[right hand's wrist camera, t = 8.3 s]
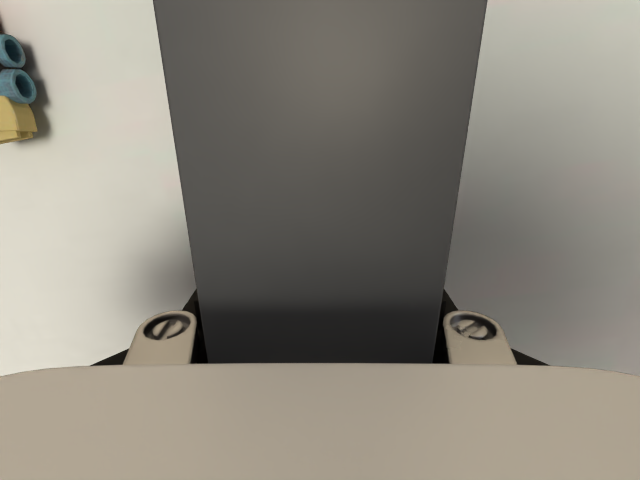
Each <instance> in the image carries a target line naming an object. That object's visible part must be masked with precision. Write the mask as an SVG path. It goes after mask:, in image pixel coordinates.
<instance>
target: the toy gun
mask: <svg viewBox="0 0 640 480" xmlns="http://www.w3.org/2000/svg"><path fill="white" fill-rule="evenodd" d="M25 60H26V58H25V54H24V51H23V49H22V47H21V45H20V44H19V42H18V41H17V40H16V39H15V38H14V37H13V36H11V35H7V34H4V33H1V32H0V144H3V143H9V142H14V141H19V140H24V139H30V138H33V134H32V132H37V127H36V123H35V118H34V115H33V113H32V110H31V108H30V107H29V105H28V104H30V103H31V102H33V101H35V98H36V95H37V93H36V88H35V85H34V82H33V80H32V79H31V78H30V77H29V75H28V74H27V73H26V72H24V71H22V70H21V69H16V68H22V67H23V66H24V64H25Z"/></svg>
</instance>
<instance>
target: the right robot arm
mask: <svg viewBox="0 0 640 480" xmlns="http://www.w3.org/2000/svg"><path fill="white" fill-rule="evenodd" d="M0 480H640V376H636V375H630V374H625V373H620V372H614V371H607V370H599V369H591V368H579V367H563V366H550V365H547V364H545V363H543V362H541V361H538V360H536V359H534V358H532V357H529V356H527V355H525V354H522V353H520V352H518V351H516V350H513V349H511V348H510V346H509V343H508V341H507V339H506V336H505V334H504V331H503V329H502V328H501V326H500V325H499V324H498V323H497V322H495V321H494V320H493V319H491V318H489V317H487V316H485V315H483V314H480V313H477V312H472V311H461V310H460V311H458V309H457V308H456V306H455V305H454V303H453V302H452V300H451V299H450V297H449V296H448V294H447V293H446V291H445V290H444V289H443V296H442V302H441V309H440V315H439V322H438V328H437V335H436V342H435V348H434V355H433V361H432V364H400V363H230V364H208V359H207V353H206V346H205V340H204V333H203V326H202V320H201V313H200V307H199V300H198V293H197V289H196V290H195V292H194V293H193V295H192V296H191V298H190V299H189V301H188V302H187V304H186V305H185V307H184V308H183V310H182V311H180V310H179V311H168V312H163V313H160V314H157V315H155V316H153V317H151V318H149V319H147V320H146V321H145V322H143V323H142V324H141V325H140V326H139V328H138V329H137V331H136V334H135V336H134V339H133V341H132V343H131V346H130V348H129V349H127V350H125V351H122V352H120V353H118V354H116V355H113V356H111V357H109V358H106V359H104V360H102V361H100V362H97V363H95V364H93V365H90V366H76V367H62V368H49V369H40V370H33V371H26V372H20V373H15V374H10V375H5V376H0Z"/></svg>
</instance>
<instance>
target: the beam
mask: <svg viewBox="0 0 640 480" xmlns="http://www.w3.org/2000/svg"><path fill="white" fill-rule="evenodd" d="M153 4H154V11H155V17H156V24H157V30H158V37H159V43H160V50H161V57H162V63H163V70H164V76H165V83H166V90H167V96H168V103H169V109H170V116H171V122H172V129H173V136H174V142H175V149H176V155H177V162H178V168H179V175H180V182H181V188H182V195H183V201H184V208H185V215H186V221H187V228H188V234H189V241H190V247H191V254H192V261H193V267H194V274H195V280H196V287H197V293H198V300H199V307H200V313H201V320H202V326H203V333H204V340H205V346H206V353H207V359H208V364H230V363H400V364H432V361H433V355H434V348H435V342H436V335H437V328H438V322H439V315H440V309H441V302H442V296H443V289H444V282H445V276H446V269H447V263H448V256H449V250H450V243H451V236H452V230H453V223H454V217H455V210H456V203H457V197H458V190H459V184H460V177H461V171H462V164H463V157H464V151H465V144H466V138H467V131H468V124H469V118H470V111H471V105H472V98H473V92H474V85H475V78H476V72H477V65H478V59H479V52H480V45H481V39H482V32H483V26H484V19H485V13H486V6H487V0H153Z"/></svg>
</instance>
